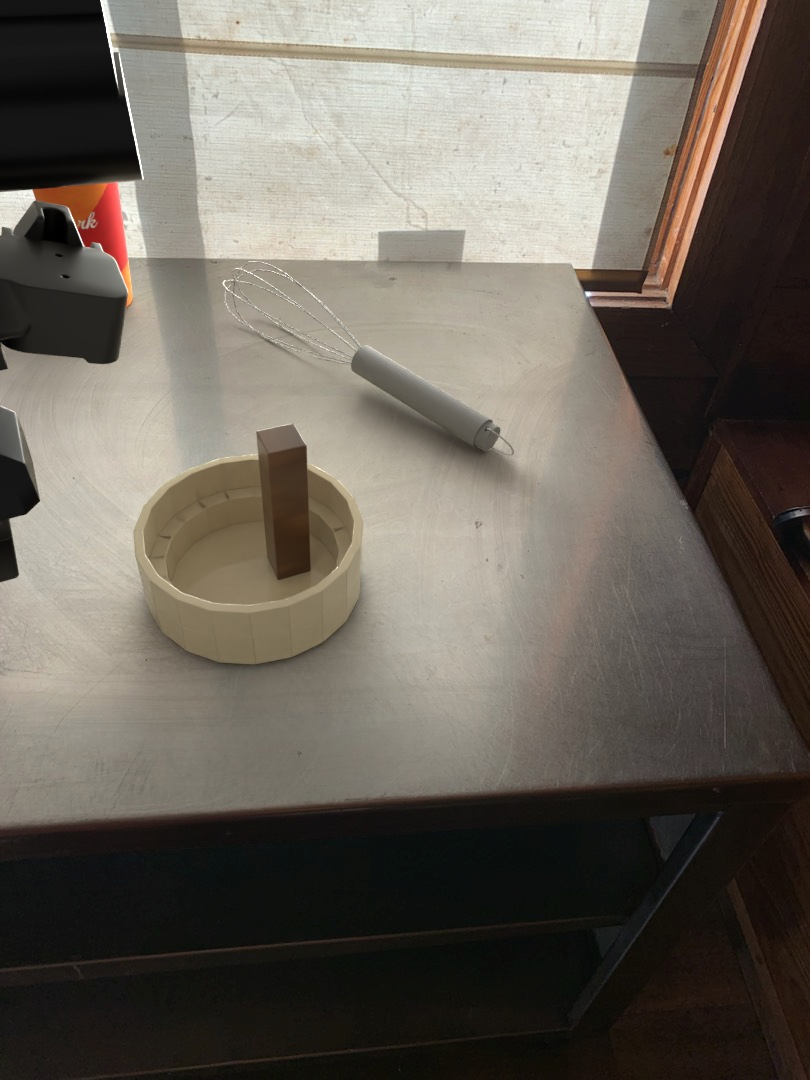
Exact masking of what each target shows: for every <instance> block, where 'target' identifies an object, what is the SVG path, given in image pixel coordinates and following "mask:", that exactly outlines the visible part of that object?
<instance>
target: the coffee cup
mask: <svg viewBox="0 0 810 1080" xmlns="http://www.w3.org/2000/svg"><path fill="white" fill-rule="evenodd" d="M32 193H33V196H34V199H35V201H42V202H47V203H52V204H57V205H63V206H66V207H68V208H69V211H70V213H71V215H72V218H73V220H74V223H75V225H76V228H77V230H78V232H79V235H80V237H81V240H82V243H83V245H84V247H89V248H91V242H94V243H100V245H101V247H102V250H103V252H105V253H107V254H109V255H110V256H112V257H113V258H114V259H115V261H116V262H117V265H118V267H119V270H120V272H121V275H122V277H123V279H124V282H125V284H126V287H127V289H128V299H127V306H126V308H128V307H129V306H130V305H131V304H132V302H133V287H132V277H131V270H130V264H129V262H130V261H129V255H128V247H127V241H126V233H125V232H126V231H125V226H124V217H123V209H122V202H121V195H120V188H119V182H118V183H106V184H94V185H82V186H70V187H57V188H45V189H33V190H32Z"/></svg>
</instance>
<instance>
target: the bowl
mask: <svg viewBox="0 0 810 1080" xmlns="http://www.w3.org/2000/svg"><path fill="white" fill-rule="evenodd" d="M307 471H308V502H309V533H310V564H311V571H309V572H305V573H302V574H298V575H295V576H291V577H288V578H284V579H280V580H278V579H277V578H276V575H275V573H274V571H273V569H272V566H271V564H270V562H269V560H268V557H267V548H266V537H265V526H264V514H263V503H262V492H261V480H260V469H259V458H258V454H242V455H235V456H227V457H221V458H217V459H214V460H211V461H208V462H205V463H202V464H199V465H196V466H193V467H191V468H188V469H186V470H184V471H182V472H181V473H179V474H178V475H176V476H175V477H173V478H172V479H170V480H168V481H167V482H165V483H164V484H162V485H161V486H160V487H159V488H158V489H157V490H156V491H155V492H154V494H153V495H152V496H151V497H150V498H149V500H147V502H146V503H145V504H144V505H143V506H142V508H141V511H140V513H139V516H138V518H137V521H136V524H135V526H134V529H133V546H134V557H135V560H136V566H137V568H138V572H139V576H140V580H141V585H142V588H143V592H144V596H145V600H146V604H147V607H148V610H149V612H150V614H151V616H152V617H153V619H154V620H155V621H154V622H155V623H156V624H157V626H158V627H159V630H160V631H161V633H163V634H164V635H165V636H166V637H168V638H169V639H171V640H172V641H173V642H174V643H176V644H177V645H178V646H179V647H181V648H182V649H183V650H184V651H187V652H188V653H191V654H194V655H197V656H200V657H202V658H205V659H208V660H211V661H214V662H217V663H221V664H223V663H225V664H240V665H258V664H259V665H260V664H264V663H270V662H276V661H279V660H284V659H291V658H293V657H296V656H298V655H300V654H302V653H304V652H306V651H308V650H311V649H312V648H314V647H316V646H318V645H320V644H323V643H324V642H325V641H326V640H328V638H330V637H331V636H332V635H333V634H334V633H335V632H337V630H338V629H339V628H340V627H342V626H343V625H344V624H345V623H346V622H347V621H348V619H349V617H350V616H351V613H352V611H353V609H354V608H355V606H356V604H357V602H358V600H359V598H360V594H361V593H360V592H361V583H362V582H361V581H362V568H363V567H362V565H363V540H364V539H363V538H364V537H363V536H364V519H363V516H362V513H361V511H360V509H359V505H358V503H357V501H356V498H355V497H354V496H353V495H352V493H351V492H349V491H350V490H348V489H347V488H346V487H345V486H344V484H342V482H341V481H340V480H339V479H338V478H337V477H335V476H333V475H331V474H330V473H328V472H327V471H324V470H322V469H321V468H320V467H317V466H316V465H314V464H311V463H308V462H307Z"/></svg>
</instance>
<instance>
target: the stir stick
mask: <svg viewBox="0 0 810 1080" xmlns="http://www.w3.org/2000/svg"><path fill="white" fill-rule="evenodd" d="M255 434H256V435H255V436H256V445H257V455H258V458H259V469H260V480H261V492H262V503H263V514H264V526H265V537H266V548H267V557H268V560H269V562H270V564H271V566H272V569H273V571H274V573H275V575H276V578H277V579H278V580H280V579H284V578H288V577H291V576H295V575H298V574H302V573H305V572H309V571H311V564H310V533H309V502H308V471H307V463H308V446H307V444H306V442H305V439H304V438H303V437H302V435H301V433H300V432H299V430H298V428H297V426H296V425H295V423H294V422H293V423H287V424H283V425H279V426H274V427H269V428H263V429H259V430H256V433H255Z"/></svg>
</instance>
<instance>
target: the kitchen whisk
mask: <svg viewBox="0 0 810 1080" xmlns="http://www.w3.org/2000/svg"><path fill="white" fill-rule="evenodd" d="M249 264H262V265H266V266H268V267H272V268H273V269H275V270H277V271H278V272H276V271H273V270H269V269H268V270H267V269H260V268H259V269H254V270H249V271H248V270H245V269H243V268H244V267H246V266H247V265H249ZM235 271H237V273H236V275H234V274H235V273H234V272H235ZM241 271H242V272H244V273H242V274H241V275H239V274H240V272H241ZM254 272H266V273H273V274H275V275H278V276H281V277H283V278H285V279H287V280H289V281H291V282H292V283H293V284H295V285H297V286H299V287H300V288H302V289H303V291H305V292H306V293H307V294H308V295H310V297H311V298H313V299H314V300H315V301H316V302H317V303H318V304H319V305H320V306H321V307H322V308H323V309H324V310H325V311H326V313H328V314H329V315H330V316H331V317H332V319H333V320H334V321H335V322H336V323H337V324H338V325H339V326H340V327H341V328H342V330H344V331H345V333H346V334H347V335H348V336H349V338H350V339H351V340H352V341H353V342H354V344H356V346H357V347H358V349H356V348H355V347H354V346H353V345H352V344H350V343H349V342H348V341H347V340H345V339H344V338H343V337H341V336H340V335H339V334H338V333H337V332H335V331H334V330H332V329H331V328H329V326H327V325H326V324H324V323H323V322H322V321H321V320H319V319H318V318H317V317H315V315H313V314H312V313H311V312H309V311H308V310H307V309H305V308H304V307H302V306H301V305H300V304H298V303H297V302H296V301H294V300H293V299H292V298H290V297H289V296H287V295H286V294H284V293H283V292H282V291H280V290H279V289H277V288H276V287H275V286H273V285H272V284H270V283H268V282H267V281H266V280H264V279H262V278H261V277H259V276H257V275H255V274H254ZM279 272H280V273H279ZM281 273H282V274H281ZM246 274H248V275H250V276H253V277H254V278H256V279H257V280H259V281H261V282H262V283H264V284H266V285H268V286H269V287H270V288H272V289H273V290H275V291H276V293H275V292H274V291H272V290H269V289H267V288H265V287H263V286H260V285H257V284H254V283H251V282H247V281H244V280H243V281H242V280H239V279H241V278H242V277H243V276H245V275H246ZM231 275H232V278H233V279H227V280H226V279H225V280H223V282H222V286H223V287H224V288H225V292H224V300H223V303H224V305H225V307H226V309H227V311H228V313H229V314H230V315H232V317H234V319H235V320H237V322H239V323H241V324H242V325H244V326H245V327H247V328H248V329H250V330H251V331H253V332H254V333H256V334H258V335H259V336H261V337H263V338H264V339H266V340H267V341H270V342H272V343H273V344H276V345H278V346H279V347H280V346H281V348H285V349H288V350H290V351H293V352H296V353H299V354H302V355H305V356H309V357H312V358H315V359H319V360H323V361H327V362H332V363H335V364H341V365H346V366H350V370H351V371H352V372H353V373H355V374H356V375H357V376H359V377H361V378H362V379H364V380H366V381H367V382H368V383H370V384H372V385H374V386H375V387H377V388H378V389H380V390H382V391H383V392H385V393H386V394H387V395H389V396H391V397H393V398H394V399H396V400H398V401H399V402H401V403H402V404H403V405H406V406H407V407H409V408H410V409H412V410H413V411H415V412H417V413H418V414H420V415H422V416H423V417H424V418H426V419H428V420H429V421H431V422H432V423H434V424H436V425H438V426H439V427H441V428H442V429H444V430H445V431H447V432H449V433H450V434H452V435H453V436H455V437H457V438H458V439H460V440H461V441H463V442H465V443H466V444H468V445H469V446H471V447H473V448H475V449H476V448H479V449H481V450H482V451H483V452H488V451H490V450H491V449H492V450H494V451H495V452H498V453H500V454H503V455H505V456H513V455H514V454H515V450H514V448H513V447H512V445H511V444H510V443H509V442H508V441H507V440H506V439H505V438H504V437H503V436H502V435H500V434H501V427H500V426H498V425H497V424H495V423H494V422H493V419H491V418H490V417H488V416H486V415H484V414H483V413H481V412H479V411H478V410H477V409H474V408H473V407H471V406H469V405H468V404H466V403H464V402H463V401H461V400H460V399H458V398H456V397H455V396H453V395H452V394H450V393H448V392H447V391H445V390H443V389H441V388H439V387H438V386H436V385H435V384H433V383H431V382H430V381H428V380H427V379H425V378H423V377H421V376H420V375H418V374H416V373H415V372H413V371H411V370H409V369H408V368H406V367H405V366H404V365H402V364H400V363H398V362H397V361H394V359H391V358H390V357H388V356H387V355H385V354H383V353H381V352H379V351H378V350H377V349H374V348H373V347H372V346H370V345H368V344H364V345H361V344H360V343H359V341H358V340H357V339H356V338H355V336H354V335H353V334H352V332H350V330H349V329H348V328H347V327H346V325H344V324H343V322H342V321H341V320H340V319H339V318H338V317H337V316H336V315H335V314H334V313H333V312H332V311H331V310H330V309H329V307H327V305H326V304H324V303H323V302H322V301H321V300H320V299H319V298H318V297H316V296H315V295H314V294H313V293H312V292H311V291H309V290H308V289H307V288H306V287H304V286H303V285H302V284H300V282H298V281H297V280H295V279H294V278H293V277H292V276H290V275H289V274H288V273H287V272H284V271H283V270H282V269H280V268H278V267H276V266H274V265H273V264H270V263H267V262H264V261H261V260H254V261H253V260H252V261H248V262H246V263H244V264H243V265H242V266H240V267H239V268H238V267H234V268H233V270H232V271H231ZM226 282H227V283H229V282H231V283H230V284H229V286H228V287H227V286H226V285H225V284H226ZM238 283H241V284H247V285H250V286H253V287H256V288H259V289H262V290H264V291H267V292H269V293H271V294H273V295H274V296H277V297H278V298H281V299H282V300H284V301H286V302H287V303H289V304H291V305H292V306H294V307H295V308H297V309H299V310H300V311H302V312H303V313H305V314H306V315H307V316H309V317H311V318H312V319H314V320H315V321H316V322H318V323H319V324H320V325H322V326H323V327H324V328H325V329H327V330H328V331H329V332H331V333H332V334H333V335H335V337H337V338H338V339H339V340H340V341H342V342H343V343H344V344H346V346H348V347H349V348H350V349H352V350H353V352H355V353H354V354H353V356H352V355H350V354H348V353H346V352H343V350H340V349H337V348H335V347H334V346H331V345H329V344H328V343H325V342H324V341H322V340H320V339H317V338H315V337H313V336H311V335H310V334H307V333H305V332H303V331H301V330H299V329H297V328H295V327H293V326H291V325H289V324H287V323H286V322H283V321H281V320H279V319H278V318H276V317H274V316H272V315H270V314H268V313H267V312H265V311H263V310H261V309H259V307H257V306H255V305H254V304H253V303H252V301H250V299H248V297H247V296H246V295H245V294H244V293H243V290H242V289H241V288H240V286H239V284H238ZM232 285H233V286H232ZM231 287H232V291H231V290H230V289H231ZM235 287H237V289H238V290H239V292H240V293H241V295H242V296H243V297H244V298H245V299H246V300H247V301H246V300H245V299H243V298H242V297H240V296H238V295H237V294H235ZM227 292H229V293H230V294H231V295H232V301H233V305H234V308H235V312H236V313H237V314H238V316H239V317H240V319H241V320H240V319H239V318H238V317H237V316H236V315H235V314H234V313H233V312H232V311H231V310H230V308H229V306H228V303H227V302H226V301H227ZM277 293H279V294H281V295H282V296H281V295H279V294H277ZM283 296H284V297H283ZM235 297H236V298H237V299H239V300H240V301H242V302H243V303H245V304H247V305H248V306H250V307H251V308H253V309H255V310H256V311H258V313H260V314H261V315H262V316H264V317H265V318H267V320H269V321H271V322H272V323H273V324H275V325H276V326H278V327H280V328H281V329H283V330H284V331H287V332H288V333H290V334H292V335H293V336H295V337H297V338H299V339H301V340H303V341H305V342H307V343H309V344H311V345H313V346H315V347H318V348H320V349H323V350H324V351H327V352H329V353H331V354H334V355H336V356H339V357H341V358H344V359H345V360H344V359H341V358H340V359H339V358H336V357H333V356H328V355H324V354H321V353H317V352H314V351H311V350H306V349H304V348H301V347H298V346H295V345H292V344H289V343H286V342H284V341H282V340H279V339H276V338H274V337H272V336H269V335H267V334H265V333H263V332H261V331H259V330H256V329H255V328H254V327H252V326H251V325H250V324H249V323H248V322H247V321H246V320H245V319H244V317H243V316H242V315H241V313H240V311H239V310H238V307H237V303H236V299H235ZM273 319H274V320H275V321H274V320H273ZM276 321H277V322H276ZM281 324H282V325H281ZM284 326H286V327H288V328H290V329H292V330H294V331H296V332H298V333H300V334H301V335H303V336H305V337H308V338H310V339H312V340H313V341H316V342H318V343H320V344H322V345H324V346H326V347H328V348H330V349H328V348H326V347H323V346H321V345H319V344H316V343H315V342H312V341H311V340H308V339H306V338H304V337H302V336H301V335H298V334H296V333H295V332H293V331H291V330H289V329H288V328H285V327H284ZM331 349H332V350H331ZM299 350H300V351H299ZM333 350H335V351H336V352H335V351H333ZM337 352H339V353H337ZM348 360H349V361H348ZM499 438H500V439H501V440H502V441H503V442H504V443H505V444H506V445H507V446H508V447H509V449H510V450H511V453H507V452H505V451H502V450H500V449H497V448H495V447H494V445H496V443H497V441H498V440H499Z"/></svg>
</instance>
